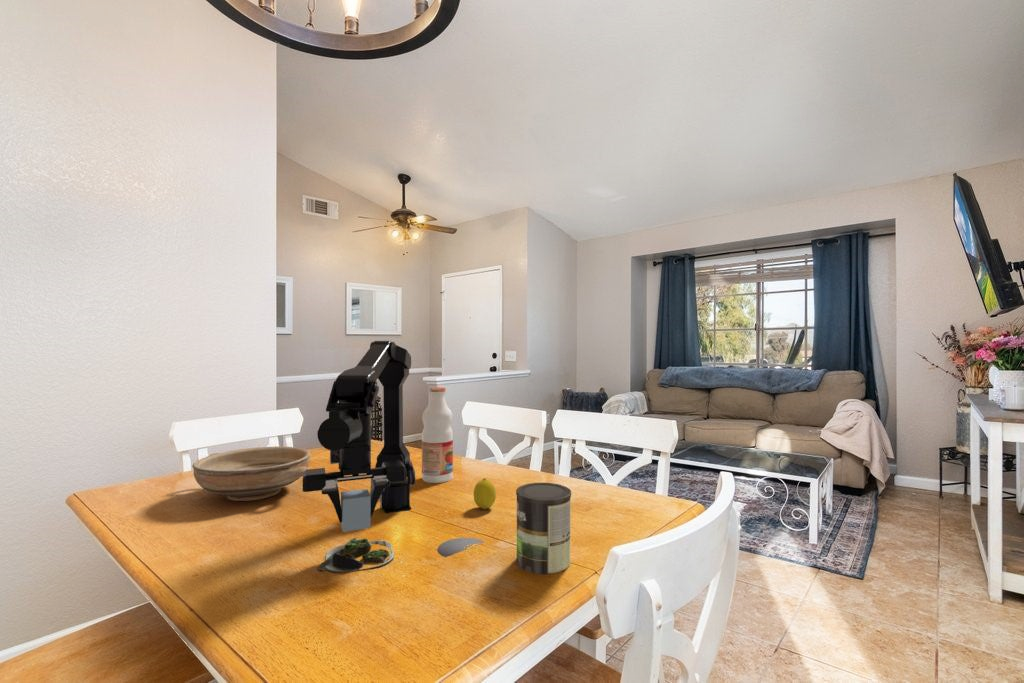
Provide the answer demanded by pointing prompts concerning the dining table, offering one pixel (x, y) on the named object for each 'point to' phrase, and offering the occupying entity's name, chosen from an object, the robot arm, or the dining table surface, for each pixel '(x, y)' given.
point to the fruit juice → (437, 439)
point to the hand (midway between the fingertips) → (355, 519)
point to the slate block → (355, 510)
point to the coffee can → (543, 527)
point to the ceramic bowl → (251, 471)
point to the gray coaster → (456, 546)
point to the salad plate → (345, 556)
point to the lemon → (484, 494)
